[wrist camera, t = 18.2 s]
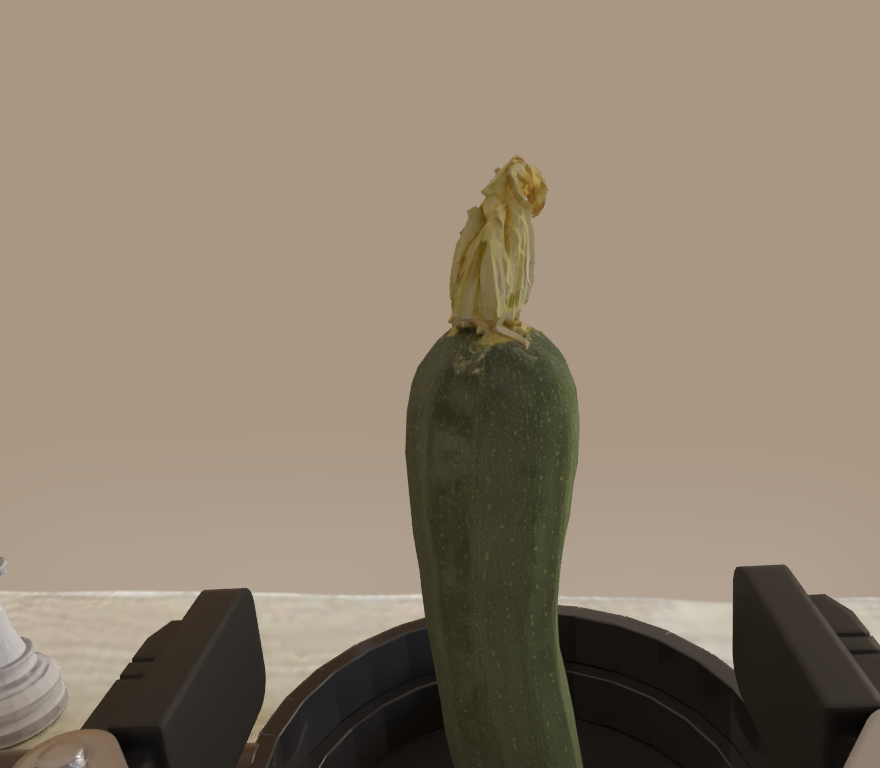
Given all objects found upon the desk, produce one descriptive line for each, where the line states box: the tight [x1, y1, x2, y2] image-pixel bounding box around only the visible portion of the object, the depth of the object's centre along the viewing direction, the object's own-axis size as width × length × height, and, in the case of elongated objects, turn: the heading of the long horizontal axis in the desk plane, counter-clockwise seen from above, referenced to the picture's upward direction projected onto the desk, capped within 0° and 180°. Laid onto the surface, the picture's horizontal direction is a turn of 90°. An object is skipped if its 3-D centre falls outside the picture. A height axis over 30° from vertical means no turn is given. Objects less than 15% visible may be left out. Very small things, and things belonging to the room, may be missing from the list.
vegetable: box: [405, 155, 583, 768], centre depth 21 cm, size 4×4×20 cm
